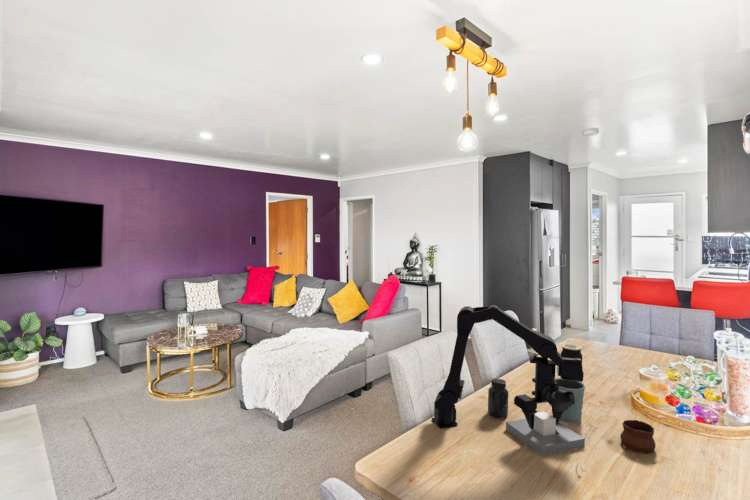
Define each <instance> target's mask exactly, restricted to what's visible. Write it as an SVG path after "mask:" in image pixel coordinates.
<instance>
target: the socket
mask: <svg viewBox="0 0 750 500" xmlns="http://www.w3.org/2000/svg"><path fill="white" fill-rule="evenodd" d="M505 430H506V431H507V432H509V433H510V434H511V435H513V436H514V437H516V438H517V439H518V440H519V441H521V443H523V444H525V446H527V447H528V448H530V449H531V450H532V451H534V452H535V453H536V454H538V455H539V456H545V455H546V456H547V455H551V454H552V455H553V454H556V453H561V452H565V451H570V450H576V449H581V448H584V447H585V446H586V445H585V444H586V442H585V441H586V440H585V439H586V438H585V437H583V436H581V435H580V434H578V433H576V432H575V431H573V430H571V429H570V428H569V427H566V426H565V425H563V424H562V423H558V425H556V427H555V435H550V436H545V437H543V436H542V435H540V434H539V433H537V432H536V431H534V430H533V429H530V427H529V425H528V422H527V420H526V418H522V419H515V420H514V419H513V420H509V421H505Z"/></svg>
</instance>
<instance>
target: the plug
mask: <svg viewBox="0 0 750 500" xmlns="http://www.w3.org/2000/svg"><path fill="white" fill-rule="evenodd" d="M555 427H556V419H555V418H554V417H553V415H550V414H549V413H547V412H545V411H540V412H537V413H535V415H534V428H533V430H534V431H536V432H537V433H539V434H540V435H542V436H543V437H545V436H550V435H555Z"/></svg>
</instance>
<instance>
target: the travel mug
mask: <svg viewBox="0 0 750 500" xmlns="http://www.w3.org/2000/svg"><path fill="white" fill-rule="evenodd" d="M561 349H562V350H561V351H560V355H561V357H564V358H580V359H581V360H582V361H583V354H582V350H583V347H582V346H580V345H578V344H573V343H563V344H562V345H561ZM559 378H561V376H559ZM581 383H583V382H581Z"/></svg>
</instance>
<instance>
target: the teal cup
mask: <svg viewBox="0 0 750 500" xmlns="http://www.w3.org/2000/svg"><path fill="white" fill-rule="evenodd" d="M555 382H557V383H558V385H559V390H560V389H563V390H565V391H567V392H568V391H571V392H572V393H573V394H574V398H575V404H573V405H571V407H569V408H568V410H564V412H563V413H562V416H561V418H560V420H559V421H562V422H565V423H574V424H575V423H580V422H581V421H582V414H583V413H582V411H583V404H584V395H585V387H586V385H585V384H584V383H583V382H582V383H581V382H578V381H569V380H562V379H561V378H560V377H558V378H555Z"/></svg>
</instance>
